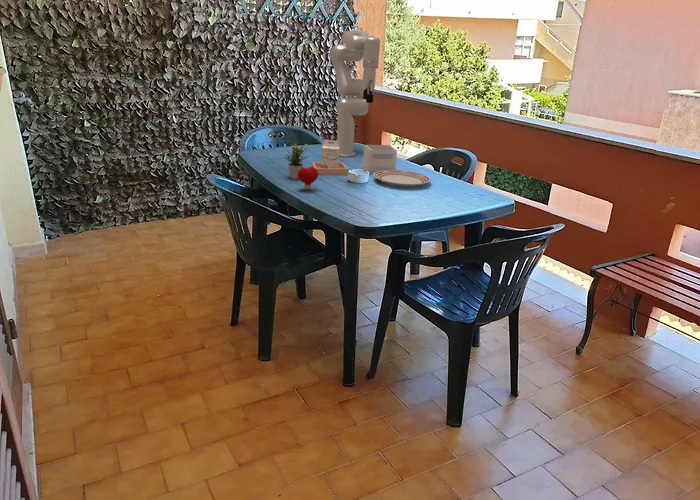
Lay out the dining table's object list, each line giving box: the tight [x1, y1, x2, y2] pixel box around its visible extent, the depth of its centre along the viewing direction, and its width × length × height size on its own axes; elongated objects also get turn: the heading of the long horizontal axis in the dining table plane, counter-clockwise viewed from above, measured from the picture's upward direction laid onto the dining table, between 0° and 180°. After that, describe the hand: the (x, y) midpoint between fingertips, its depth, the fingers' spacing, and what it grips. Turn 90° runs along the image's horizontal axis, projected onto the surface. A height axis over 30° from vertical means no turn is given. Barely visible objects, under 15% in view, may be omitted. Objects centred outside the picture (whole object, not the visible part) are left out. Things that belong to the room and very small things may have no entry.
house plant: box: [281, 142, 311, 180], centre depth 251 cm, size 14×14×16 cm
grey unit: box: [362, 144, 398, 175], centre depth 273 cm, size 13×14×12 cm
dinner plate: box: [372, 169, 431, 188], centre depth 257 cm, size 27×27×3 cm
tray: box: [311, 161, 349, 176], centre depth 267 cm, size 13×16×3 cm
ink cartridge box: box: [320, 139, 340, 168], centre depth 265 cm, size 9×5×15 cm, turn 88°
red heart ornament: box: [298, 166, 319, 191], centre depth 234 cm, size 9×7×10 cm
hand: (367, 101), depth 265 cm, fingers open, 9 cm apart
